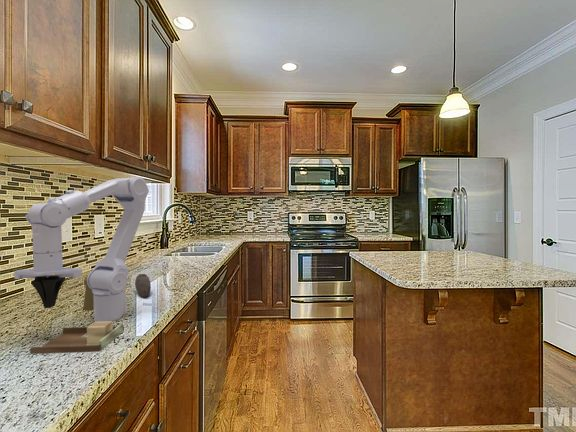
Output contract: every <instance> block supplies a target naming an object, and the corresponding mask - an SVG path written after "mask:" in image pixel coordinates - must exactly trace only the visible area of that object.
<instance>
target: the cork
mask: <svg viewBox="0 0 576 432" xmlns="http://www.w3.org/2000/svg"><path fill="white" fill-rule="evenodd" d="M87 277H88V275H87V276H85V277H84V279H83V283H84V285H85V291H84V292H85V293H84V299H83V300H84V301H83V310H84V311H94V298H93V293H92V289H91V288H89V286H88V284H87Z"/></svg>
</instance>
